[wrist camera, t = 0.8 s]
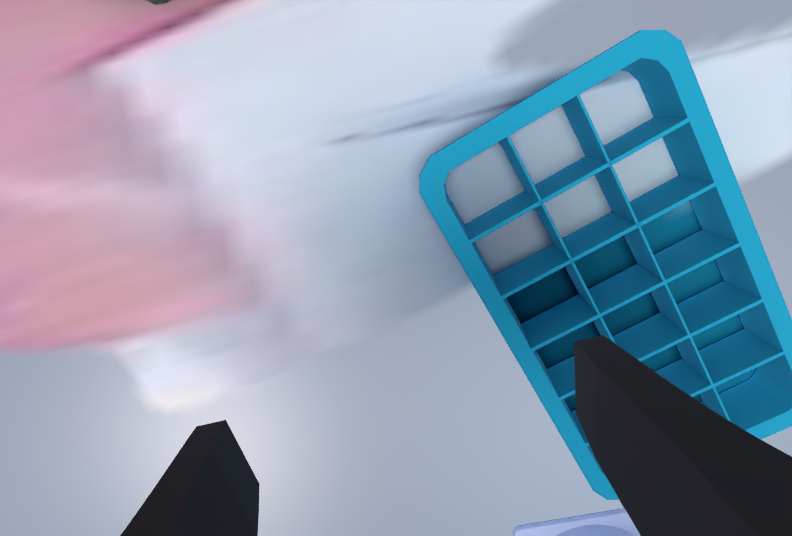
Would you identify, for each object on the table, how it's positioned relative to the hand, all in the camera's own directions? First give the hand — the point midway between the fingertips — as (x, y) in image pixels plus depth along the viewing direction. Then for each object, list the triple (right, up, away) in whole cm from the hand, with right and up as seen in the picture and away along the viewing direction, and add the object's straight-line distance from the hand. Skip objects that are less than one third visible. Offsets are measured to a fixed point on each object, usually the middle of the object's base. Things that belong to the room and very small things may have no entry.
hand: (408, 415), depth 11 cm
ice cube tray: (+10, +3, +16) cm, 19 cm away
